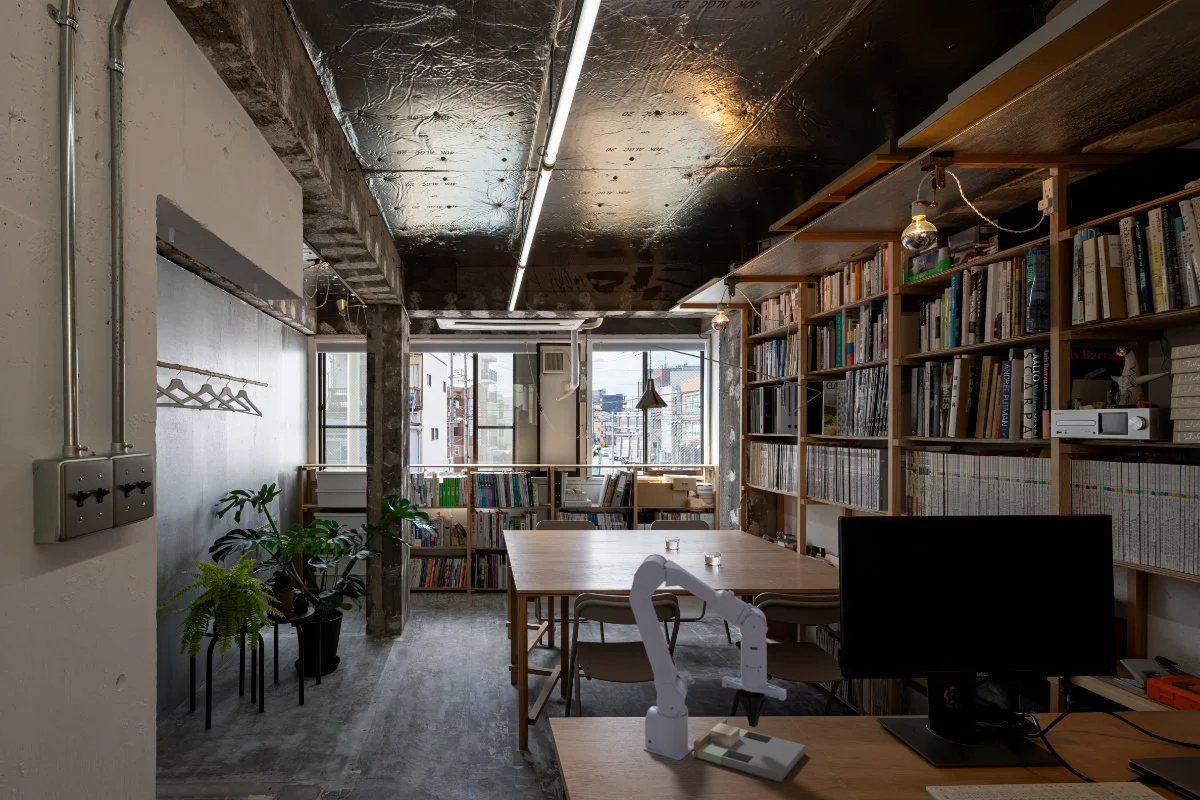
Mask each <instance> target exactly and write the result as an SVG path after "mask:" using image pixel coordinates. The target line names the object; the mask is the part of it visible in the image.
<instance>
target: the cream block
mask: <svg viewBox="0 0 1200 800" xmlns="http://www.w3.org/2000/svg"><path fill="white" fill-rule="evenodd" d="M716 724H717V723H716ZM740 729H741V728H740V727H738V726H733V725H729V724H727V725H726V724H722V723H719V724H717V725H716V726H715V727H714V728H713V729H711V730H710V732H711V742H715V743H718V744H722V745H726V746H729V747H731V746H732V745H734V744H735V743H736V742H737V741H738V740H739V739H740Z"/></svg>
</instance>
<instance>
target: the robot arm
mask: <svg viewBox="0 0 1200 800" xmlns="http://www.w3.org/2000/svg"><path fill="white" fill-rule="evenodd" d="M664 582H665V585H664V588H665V587H667V588H669V587H680V588H682V589H683V590H686V591H687V592H689V593H691V594H692V595H694V596H695V597H698V598H699V599H700V600H703V601H705V602H706V603H708V605H709V606H710V607H709V608H710V612H712V613H714V614H715V615H717V616H718V617H719V618H721V619H723V620H724V621H727V623H730V625H732V626H733V627H737V628H740V632H741V636H742V637H741V641H740V677H736V676H735V677H734V676H728V675H725V676H723V677H722V678H721V687H722V688H731V689H736V690H739V691H740V693H739V694H738V699H739V700H740V702H741V704H742V705H743V708H744V711H745V714H746V718H747V722H748V726H749V727H751V728H756V727H757V726H758V725H759V720H760V715H761V712H762V709H763V707H764V704H765V702H766V700H767V699H768V697H770V698H775V699H778V700H779V701H783V702H784V701H785V700H786V699H787V689H786V688H782V687H779V686H777V685H774V684H771V683H768V682H767V681H768V680H767V679H768V678H767V676H768V675H767V669H768V664H767V663H768V662H767V661H768V660H767V657H768V655H767V654H768V651H767V648H768V647H767V646H768V645H767V643H766V641H767V635H766V634H767V633H768V630H769V627H768V624H767V618H766V615H765V613H764V612H763V610H761V609H760V608H759V607H758V606H754V605H753V604H752V603H750V602H748V603H747V602H745V601H743V600H741V599H740V598H739V597H737V596H735V592H734V591H732V590H730V589H729V590H728V591H727V590H726V589H720V590H715V589H714V588H713V587H711V586H709V585H708V584H706V583H705V582H704V581H703V580H701V579H700V578H697V577H696V576H695V575H694V574H692V573H691V572H690V571H688V570H687V569H685V568H684V567H682V566H680V565H679V564H678V563H676V562H674V561H673V560H670V559H667V558H666V557H665V556H664V555H661V554H658V553H652V554H650V555H648V556H647V557H645V559H644V560H643V562H642V563H641V565H640V566H639V567H638V568H637V570H636V572H635V573H634V574H633V581H632V583H631V588H630V593H629V596H628V600H629V604H630V607H631V610H632V613H633V615H634V619H635V622H636V626H637V628H638V631H639V633H640V637H641V640H642V643H643V645H644V648H645V651H646V655H647V658H648V660H649V663H650V666H651V669H652V673H653V677H654V687H655V691H656V705H652V706H650V707H649V708H648V710H647V712H646V715H645V719H644V720H645V721H644V725H645V726H644V727H645V728H644V729H645V730H644V732H645V733H644V736H645V737H644V738H645V739H644V742H645V743H644V746H643V751H646V752H649V753H651V754H652V753H653V754H656V755H659V756H662V757H666V758H669V759H672V760H675V761H681V760H682V759H684V758H685V757H686V756H687V755H689V754H690V753H691V752H692V751H694V744H690V743H689V718H688V717H689V709H688V706H687V705H686V703H685V702H686V701H685V700H686V696H687V694H688V685H687V682H686V681H685V680H684V679H683V677H682V676H681V675H680V674H679V671H678V668H677V667H676V666H675V664H674V663H673V660H672V657H671V654H670V651H669V648H668V645H667V642H666V639H665V635H664V633H663V630H662V628H661V625H660V621H659V619H658V616H657V612H656V610H655V607H654V605H653V604H654V603H653V601H652V597H653V596H654V594H655V591H656V590H657V589H659V588H660V587H661V586H662V585H663V583H664Z"/></svg>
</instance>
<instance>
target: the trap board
mask: <svg viewBox="0 0 1200 800" xmlns="http://www.w3.org/2000/svg"><path fill="white" fill-rule="evenodd" d="M719 723H722V724H726V725H728V719H727V718H725V717H723V718H721V719H720V720H719V721H718V722H716V723H715V724H714V725H713V726H712V727H710V728H709V729H708V730H707V731H706V732H704V733H703V734H702V735H700V736H699V737H698V738H697V739H696V740H695V741H693V745H694V749H693V759H696V760H698V761H703V762H707V763H709V764H713V765H717V766H719V767H723V768H727V769H730V770H733V771H736V772H741V773H744V774H747V775H751V776H754V777H758V778H761V779H765V780H768V781H771V782H775V783H779V784H782V783H783V782H784V780H785V779H787V777H788V775H790V774H791V772H792V771H793V770H794V768H795V767H797V765H798V764H799V763H800V761H801V760H802V759H803V758H804V757H805V755H806V745H805V744H802V743H798V742H794V741H790V740H786V739H783V738H779V737H776V736H771V735H767V734H763V733H760V732H756V731H752V730H747V729H744V728H740V739H739V740H738V741H737V742H736V743H735V744H734V745H732V746H731V747H729V746H726V745H722V744H718V743H715V742H711V732H710V730H711V729H713V728H714V727H715V726H716V725H717V724H719Z"/></svg>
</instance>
